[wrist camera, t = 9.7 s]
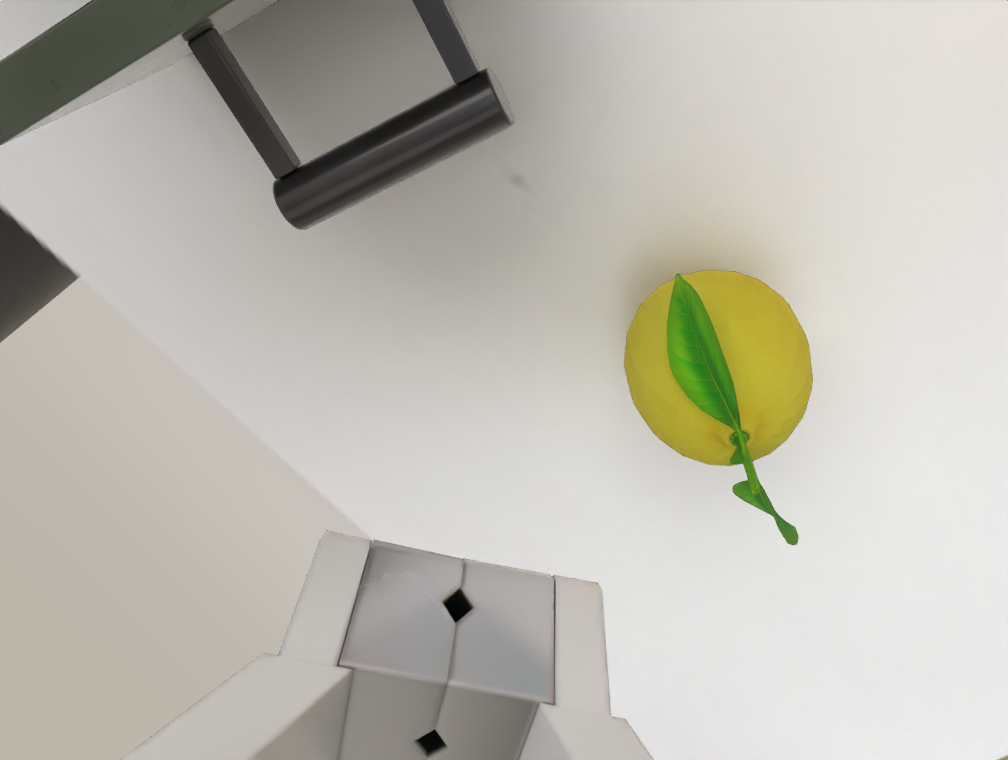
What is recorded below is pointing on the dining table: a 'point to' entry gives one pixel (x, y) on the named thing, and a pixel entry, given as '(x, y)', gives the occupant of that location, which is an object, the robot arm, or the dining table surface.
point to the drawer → (250, 94)
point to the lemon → (720, 373)
